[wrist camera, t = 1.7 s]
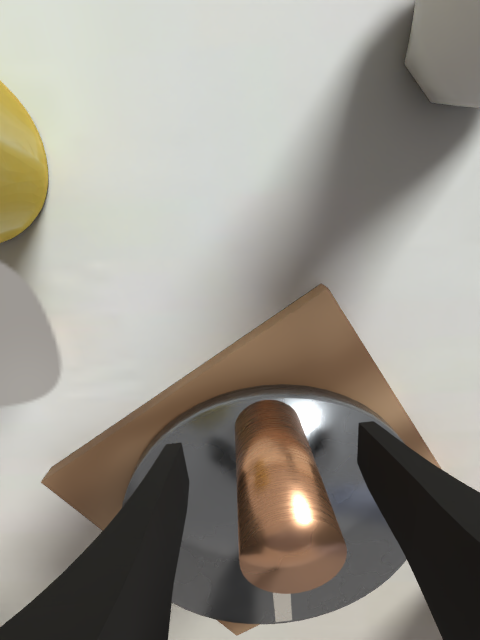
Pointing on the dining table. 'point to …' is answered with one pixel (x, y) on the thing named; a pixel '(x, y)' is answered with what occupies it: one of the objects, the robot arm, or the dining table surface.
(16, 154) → the plant pot
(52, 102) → the dining table surface
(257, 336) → the base
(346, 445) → the crank wheel
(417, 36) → the salt shaker
